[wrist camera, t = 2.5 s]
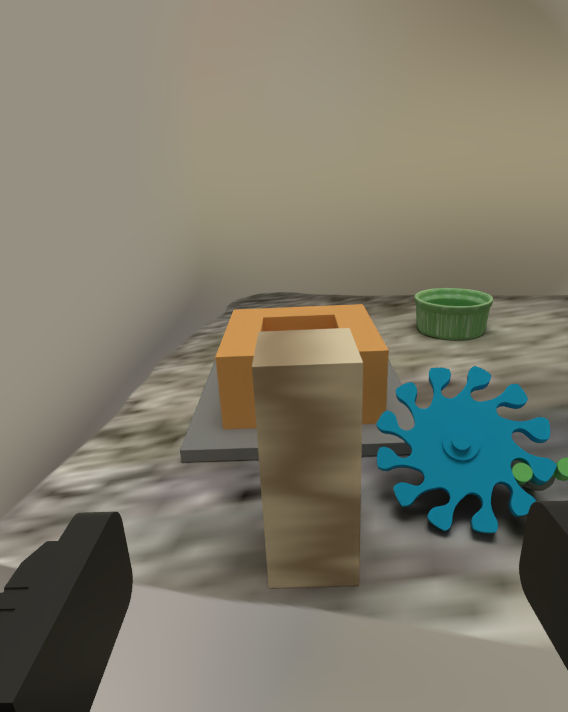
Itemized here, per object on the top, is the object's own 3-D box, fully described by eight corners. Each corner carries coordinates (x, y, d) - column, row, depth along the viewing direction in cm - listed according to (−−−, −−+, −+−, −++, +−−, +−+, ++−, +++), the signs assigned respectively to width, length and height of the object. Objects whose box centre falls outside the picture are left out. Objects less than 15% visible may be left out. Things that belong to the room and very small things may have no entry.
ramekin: (406, 338, 56) (408, 303, 55) (419, 317, 64) (421, 286, 62) (487, 346, 53) (491, 308, 51) (490, 323, 61) (494, 289, 59)
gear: (350, 493, 27) (401, 343, 30) (361, 505, 33) (404, 376, 35) (561, 574, 23) (597, 391, 26) (535, 572, 28) (567, 420, 31)
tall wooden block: (348, 522, 27) (349, 328, 23) (359, 585, 23) (363, 362, 19) (271, 525, 28) (258, 331, 23) (268, 588, 23) (251, 367, 19)
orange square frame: (383, 359, 50) (385, 296, 48) (431, 453, 34) (438, 363, 31) (216, 366, 51) (210, 303, 48) (181, 462, 34) (168, 374, 31)
